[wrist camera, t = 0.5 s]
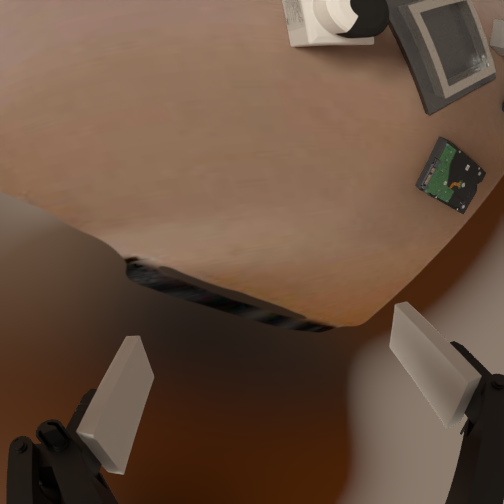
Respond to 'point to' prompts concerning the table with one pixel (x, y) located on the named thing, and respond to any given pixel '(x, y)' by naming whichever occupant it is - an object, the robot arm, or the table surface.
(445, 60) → the collar plate
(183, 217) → the table surface
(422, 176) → the disk drive
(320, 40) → the container
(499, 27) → the tea bag
